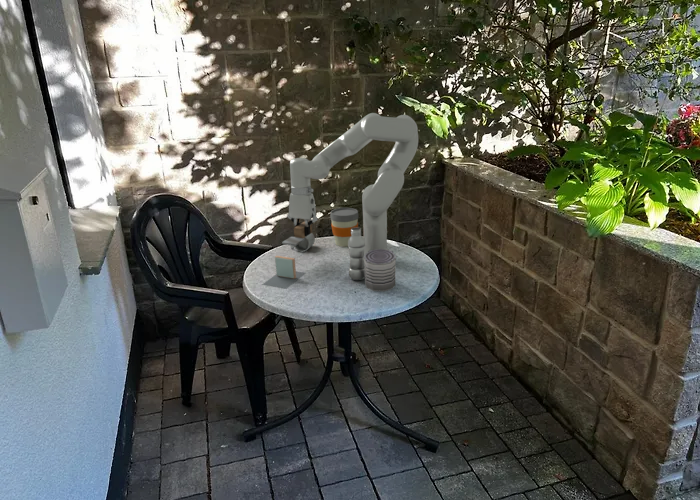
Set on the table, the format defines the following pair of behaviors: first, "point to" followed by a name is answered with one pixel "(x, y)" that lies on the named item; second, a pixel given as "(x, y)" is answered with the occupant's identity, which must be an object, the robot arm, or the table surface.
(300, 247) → the ceramic mug
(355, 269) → the silver bottle
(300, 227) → the tall brown block
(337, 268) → the table surface
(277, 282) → the mat
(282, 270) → the tile
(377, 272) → the ribbed tin
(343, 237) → the reusable coffee cup
